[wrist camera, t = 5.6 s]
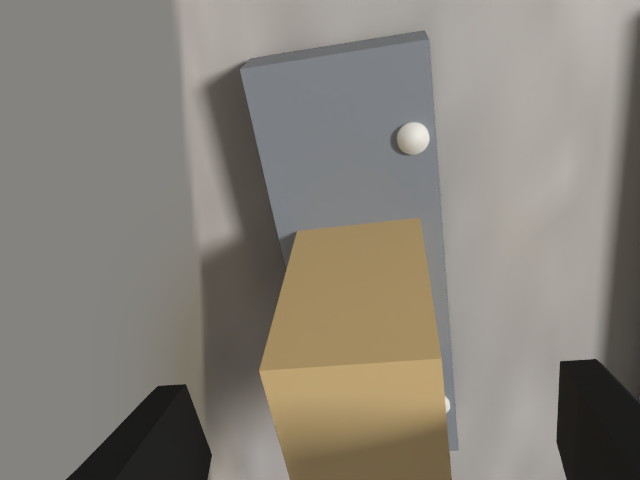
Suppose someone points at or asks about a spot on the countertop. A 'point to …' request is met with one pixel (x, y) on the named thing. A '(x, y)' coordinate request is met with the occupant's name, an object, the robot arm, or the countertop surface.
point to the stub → (356, 261)
